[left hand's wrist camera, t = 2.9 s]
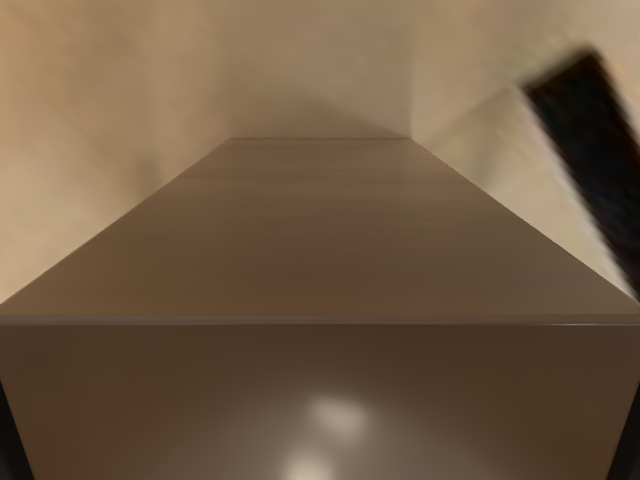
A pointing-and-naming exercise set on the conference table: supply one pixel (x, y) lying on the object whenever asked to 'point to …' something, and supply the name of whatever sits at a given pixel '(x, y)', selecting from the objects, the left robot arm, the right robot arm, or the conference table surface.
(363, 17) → the conference table surface
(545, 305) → the box
